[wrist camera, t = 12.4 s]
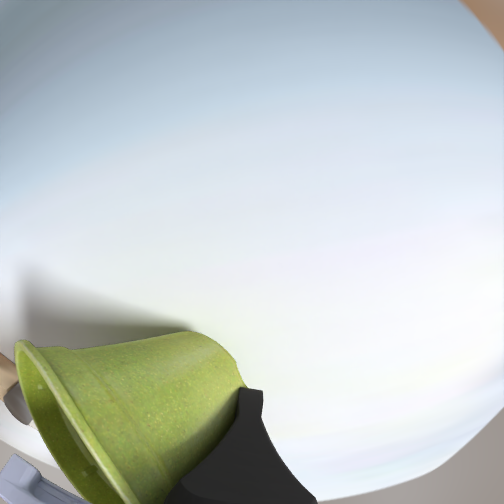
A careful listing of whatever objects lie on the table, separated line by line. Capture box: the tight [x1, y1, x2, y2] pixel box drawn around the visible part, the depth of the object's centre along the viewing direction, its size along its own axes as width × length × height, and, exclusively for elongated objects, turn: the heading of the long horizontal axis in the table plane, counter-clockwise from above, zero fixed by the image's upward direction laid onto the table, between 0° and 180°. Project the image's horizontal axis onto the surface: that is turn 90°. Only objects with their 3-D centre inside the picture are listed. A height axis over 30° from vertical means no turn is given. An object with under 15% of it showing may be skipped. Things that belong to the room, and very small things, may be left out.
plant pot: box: [14, 331, 248, 504], centre depth 11 cm, size 9×9×9 cm
